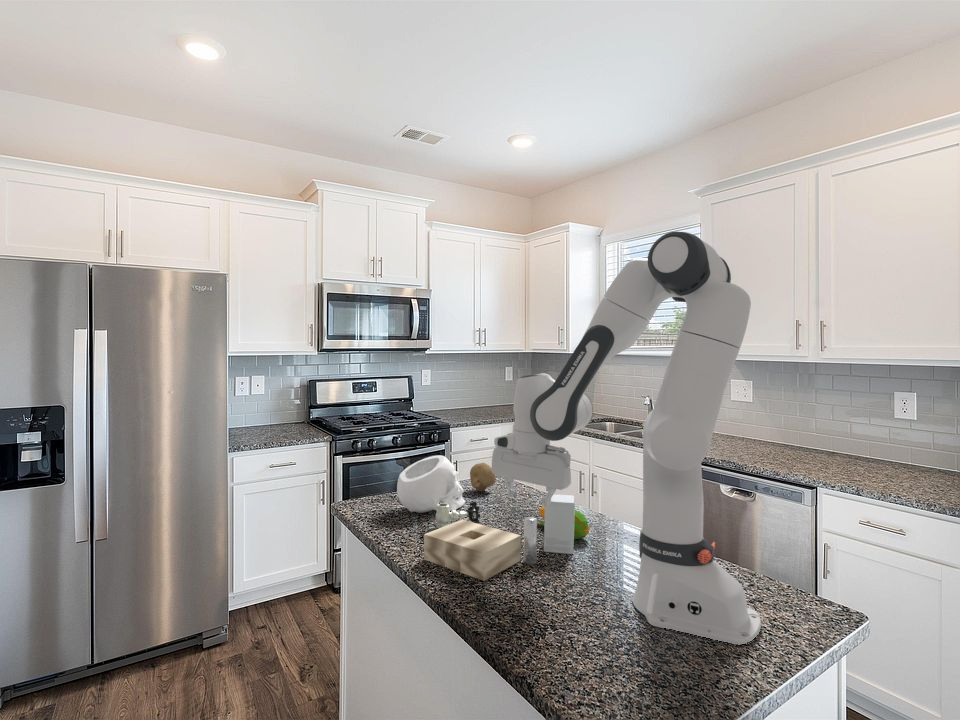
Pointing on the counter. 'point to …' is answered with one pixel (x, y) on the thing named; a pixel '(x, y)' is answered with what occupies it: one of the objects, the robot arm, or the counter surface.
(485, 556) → the hole block
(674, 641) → the counter surface
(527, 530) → the steel peg
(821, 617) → the counter surface
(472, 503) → the valve
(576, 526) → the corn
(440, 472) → the skull planter
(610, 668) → the counter surface
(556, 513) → the supplement box
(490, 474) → the potato
